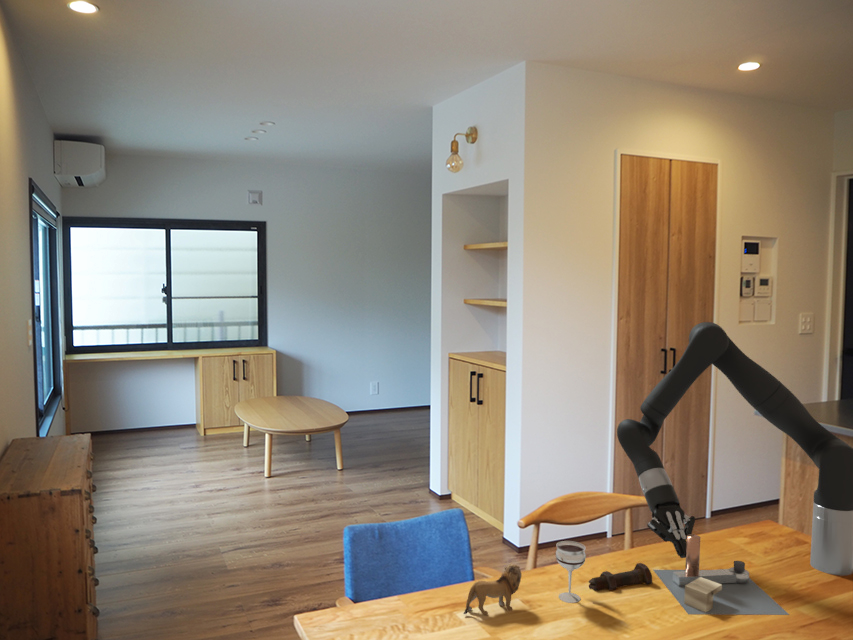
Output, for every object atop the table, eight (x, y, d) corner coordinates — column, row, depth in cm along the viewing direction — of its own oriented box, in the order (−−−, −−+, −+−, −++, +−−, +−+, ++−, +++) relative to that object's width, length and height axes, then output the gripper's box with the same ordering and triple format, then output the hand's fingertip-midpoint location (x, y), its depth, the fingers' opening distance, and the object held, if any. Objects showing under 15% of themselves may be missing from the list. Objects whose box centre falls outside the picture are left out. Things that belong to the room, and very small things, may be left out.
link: (741, 574, 165) (743, 530, 164) (752, 583, 161) (754, 537, 160) (671, 578, 163) (673, 533, 162) (680, 586, 158) (682, 541, 158)
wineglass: (587, 594, 157) (588, 543, 157) (581, 607, 151) (582, 554, 150) (558, 588, 160) (559, 538, 159) (551, 600, 154) (552, 549, 153)
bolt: (589, 600, 159) (643, 589, 164) (599, 598, 154) (655, 587, 159) (582, 573, 161) (636, 563, 166) (593, 571, 157) (647, 561, 162)
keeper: (699, 594, 155) (700, 576, 155) (721, 602, 152) (722, 584, 151) (684, 603, 151) (684, 585, 151) (705, 612, 147) (706, 594, 147)
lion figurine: (512, 596, 156) (513, 558, 155) (526, 606, 151) (527, 567, 151) (457, 611, 149) (458, 571, 148) (470, 622, 144) (471, 581, 144)
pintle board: (652, 574, 168) (653, 552, 168) (740, 574, 169) (741, 552, 168) (688, 619, 146) (689, 594, 146) (789, 619, 147) (790, 594, 146)
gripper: (641, 484, 169) (668, 553, 158) (687, 481, 172) (717, 548, 162) (629, 498, 174) (654, 565, 164) (673, 495, 178) (701, 560, 167)
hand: (685, 556), depth 163 cm, fingers closed
